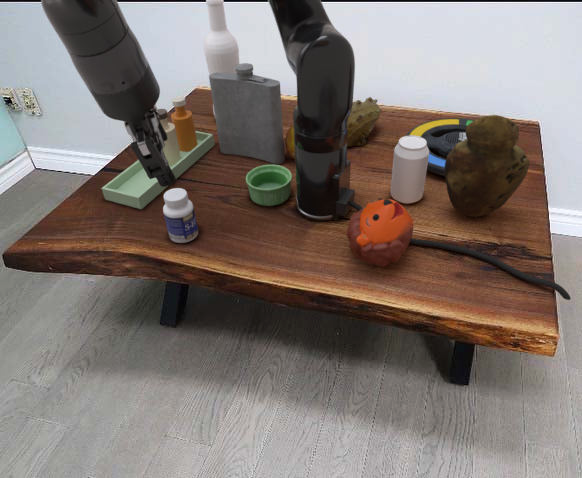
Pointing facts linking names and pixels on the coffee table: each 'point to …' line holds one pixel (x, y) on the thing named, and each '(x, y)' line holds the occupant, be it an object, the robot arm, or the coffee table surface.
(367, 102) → the seashell
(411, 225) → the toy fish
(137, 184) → the tray
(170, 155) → the cream bottle
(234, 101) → the hip flask
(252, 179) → the ramekin
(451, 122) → the electronic game
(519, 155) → the sculpture
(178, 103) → the amber bottle
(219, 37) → the bottle
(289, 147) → the fruit
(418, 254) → the coffee table surface
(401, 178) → the beverage can
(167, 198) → the pill bottle
